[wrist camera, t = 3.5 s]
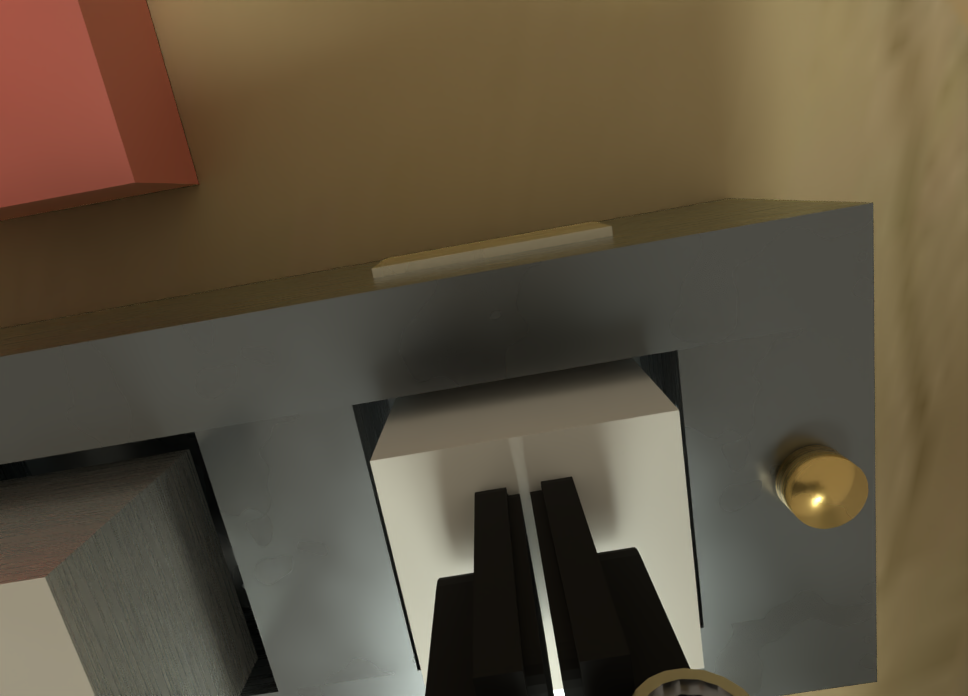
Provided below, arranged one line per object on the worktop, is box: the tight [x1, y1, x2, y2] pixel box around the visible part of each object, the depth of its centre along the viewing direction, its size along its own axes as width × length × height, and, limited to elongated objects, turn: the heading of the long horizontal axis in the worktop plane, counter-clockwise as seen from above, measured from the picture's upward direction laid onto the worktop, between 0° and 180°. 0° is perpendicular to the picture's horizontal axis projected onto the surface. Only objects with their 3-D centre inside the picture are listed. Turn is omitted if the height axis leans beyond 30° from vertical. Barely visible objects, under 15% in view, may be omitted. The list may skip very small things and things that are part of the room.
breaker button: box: [370, 358, 704, 690], centre depth 12 cm, size 5×5×4 cm
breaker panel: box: [0, 198, 877, 696], centre depth 13 cm, size 10×22×10 cm, turn 100°
